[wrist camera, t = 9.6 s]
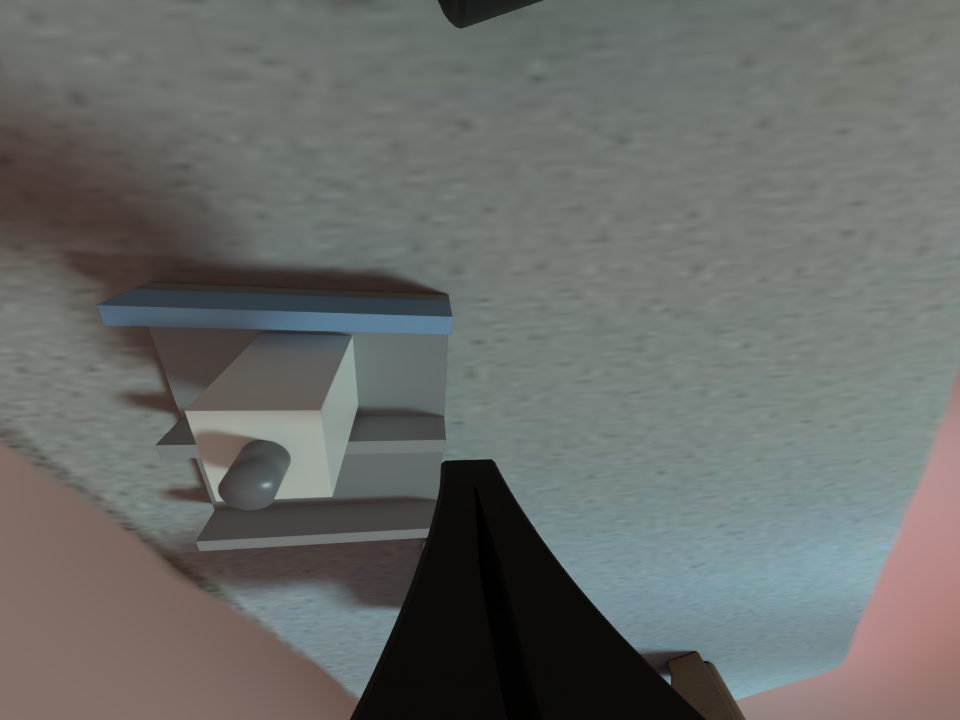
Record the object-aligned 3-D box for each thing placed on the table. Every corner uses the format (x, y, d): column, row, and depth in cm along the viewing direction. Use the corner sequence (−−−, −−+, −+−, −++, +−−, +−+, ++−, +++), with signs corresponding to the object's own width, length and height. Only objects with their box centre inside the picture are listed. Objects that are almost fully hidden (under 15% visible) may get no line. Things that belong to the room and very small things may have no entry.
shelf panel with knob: (439, 496, 24) (440, 536, 22) (226, 505, 22) (199, 551, 20) (448, 294, 18) (452, 316, 15) (150, 282, 16) (96, 305, 13)
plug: (358, 405, 19) (322, 531, 12) (276, 405, 18) (193, 538, 12) (352, 335, 17) (307, 440, 11) (261, 333, 17) (153, 442, 10)
